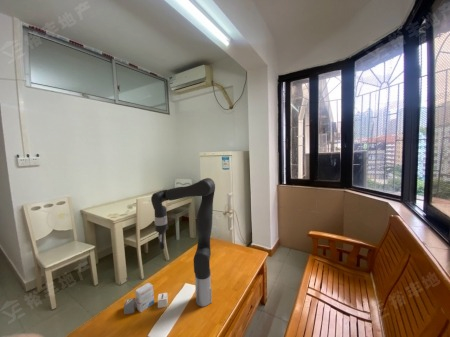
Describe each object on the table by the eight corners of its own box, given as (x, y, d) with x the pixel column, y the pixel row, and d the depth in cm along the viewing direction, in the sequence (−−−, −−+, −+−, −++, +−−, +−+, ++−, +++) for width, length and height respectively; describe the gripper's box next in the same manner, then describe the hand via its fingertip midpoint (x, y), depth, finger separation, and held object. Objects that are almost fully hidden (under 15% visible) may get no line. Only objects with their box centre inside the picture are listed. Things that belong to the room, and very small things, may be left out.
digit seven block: (136, 305, 111) (135, 297, 111) (133, 312, 107) (133, 304, 106) (127, 307, 110) (126, 299, 110) (124, 314, 106) (123, 306, 105)
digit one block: (167, 299, 115) (167, 292, 115) (166, 306, 110) (166, 298, 110) (159, 301, 114) (158, 293, 114) (158, 308, 109) (157, 300, 109)
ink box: (150, 299, 116) (148, 281, 115) (154, 303, 113) (153, 285, 112) (136, 308, 110) (134, 289, 108) (140, 313, 106) (139, 294, 105)
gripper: (166, 226, 112) (167, 253, 114) (168, 218, 125) (169, 242, 127) (153, 227, 110) (154, 255, 112) (156, 219, 123) (157, 244, 125)
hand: (162, 248), depth 120 cm, fingers closed
